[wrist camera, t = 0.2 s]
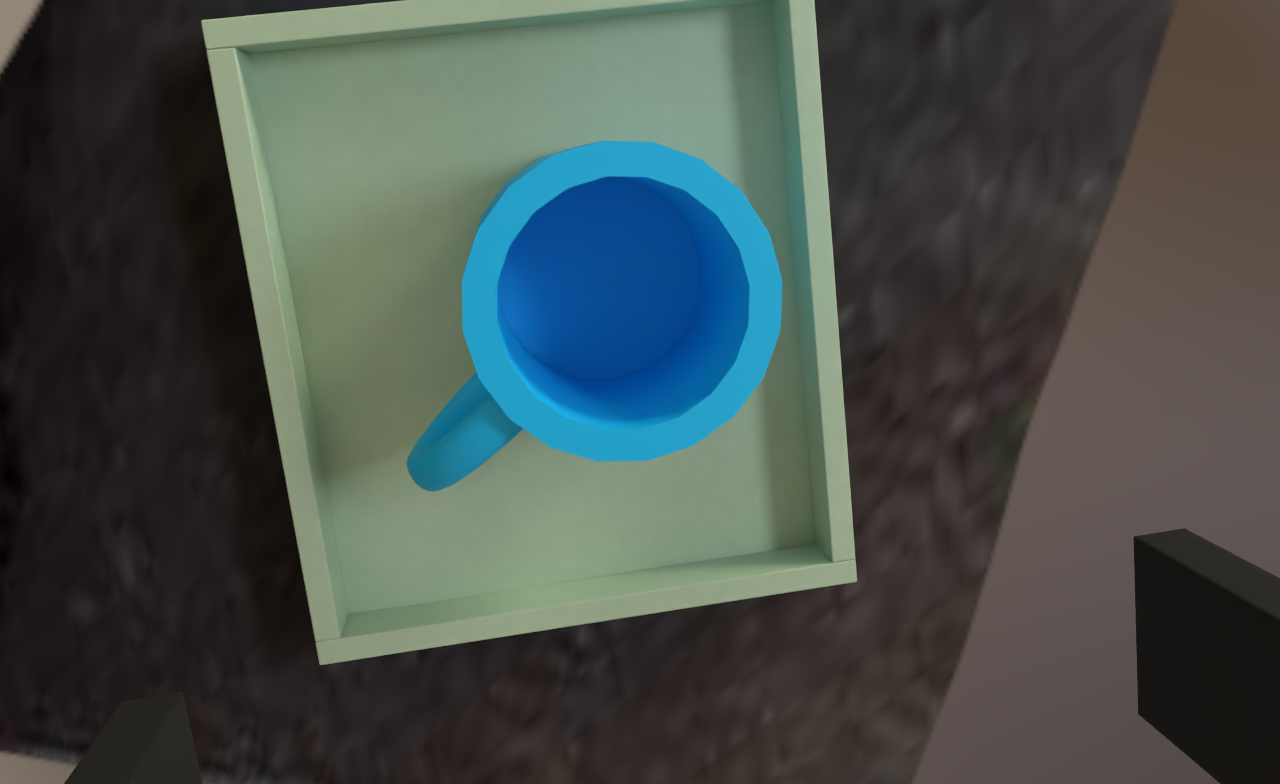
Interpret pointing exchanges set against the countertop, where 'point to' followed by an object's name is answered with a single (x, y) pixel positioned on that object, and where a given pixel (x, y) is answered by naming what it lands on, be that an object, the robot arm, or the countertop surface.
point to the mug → (608, 311)
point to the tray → (432, 306)
